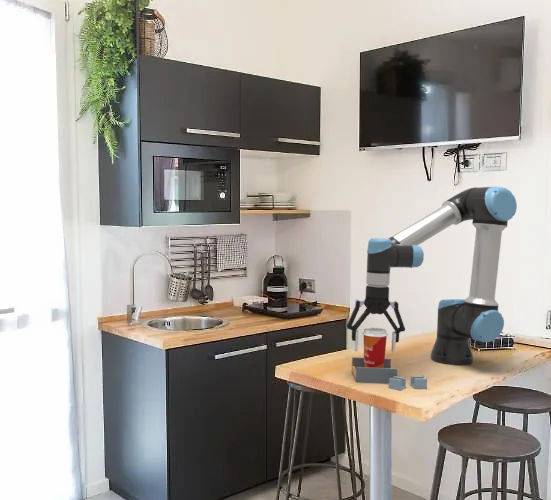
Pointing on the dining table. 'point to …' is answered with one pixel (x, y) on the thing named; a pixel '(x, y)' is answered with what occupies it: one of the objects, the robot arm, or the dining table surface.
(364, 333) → the coffee cup
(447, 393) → the dining table surface
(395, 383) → the clip
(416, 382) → the clip
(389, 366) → the end holder
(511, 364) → the dining table surface
